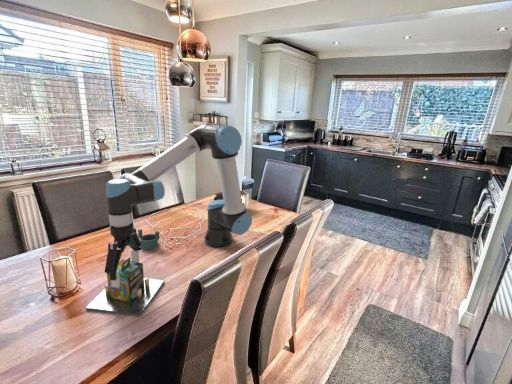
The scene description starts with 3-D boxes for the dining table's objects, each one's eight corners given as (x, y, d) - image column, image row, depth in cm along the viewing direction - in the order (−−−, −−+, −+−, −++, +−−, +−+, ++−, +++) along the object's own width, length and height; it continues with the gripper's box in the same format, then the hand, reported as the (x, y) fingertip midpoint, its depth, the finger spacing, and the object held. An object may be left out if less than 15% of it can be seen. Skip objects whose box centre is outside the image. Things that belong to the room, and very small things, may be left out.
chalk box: (125, 284, 111) (121, 251, 107) (145, 288, 110) (143, 255, 105) (108, 298, 103) (104, 263, 98) (130, 303, 101) (127, 267, 97)
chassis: (164, 282, 115) (163, 270, 114) (140, 316, 96) (139, 303, 95) (118, 277, 117) (117, 265, 116) (86, 309, 98) (84, 296, 97)
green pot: (160, 248, 142) (159, 232, 140) (141, 251, 138) (140, 235, 135) (156, 241, 150) (156, 225, 147) (138, 244, 145) (137, 228, 143)
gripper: (130, 209, 110) (134, 257, 116) (87, 237, 86) (95, 295, 93) (148, 211, 110) (151, 259, 116) (110, 240, 86) (116, 297, 92)
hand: (126, 275), depth 104 cm, fingers open, 13 cm apart
